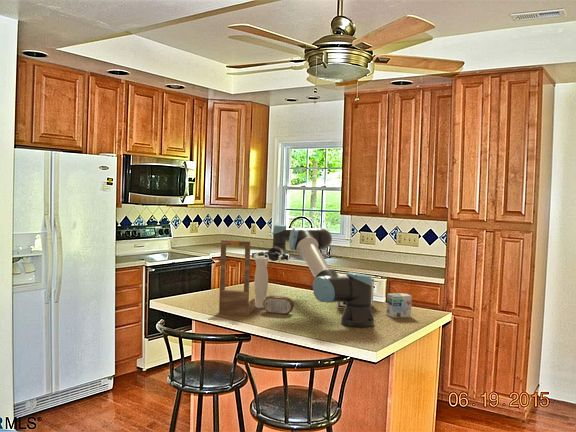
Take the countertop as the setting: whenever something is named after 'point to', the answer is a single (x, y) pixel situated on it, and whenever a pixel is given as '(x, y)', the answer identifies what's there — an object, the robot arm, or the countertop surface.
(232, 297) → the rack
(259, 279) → the skyscraper
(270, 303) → the tin
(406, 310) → the light bulb box
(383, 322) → the countertop surface
